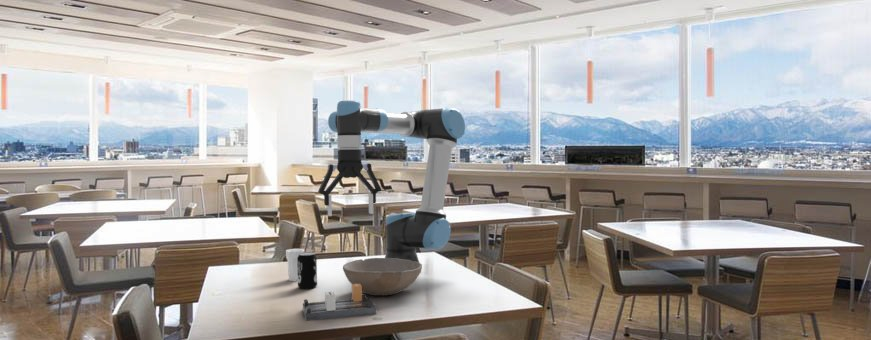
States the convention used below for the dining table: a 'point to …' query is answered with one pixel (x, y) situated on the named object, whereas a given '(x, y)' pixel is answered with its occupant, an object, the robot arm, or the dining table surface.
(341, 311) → the panel
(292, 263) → the cup
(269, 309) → the dining table surface
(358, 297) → the orange fader
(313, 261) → the beverage can
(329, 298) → the white fader
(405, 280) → the bowl
